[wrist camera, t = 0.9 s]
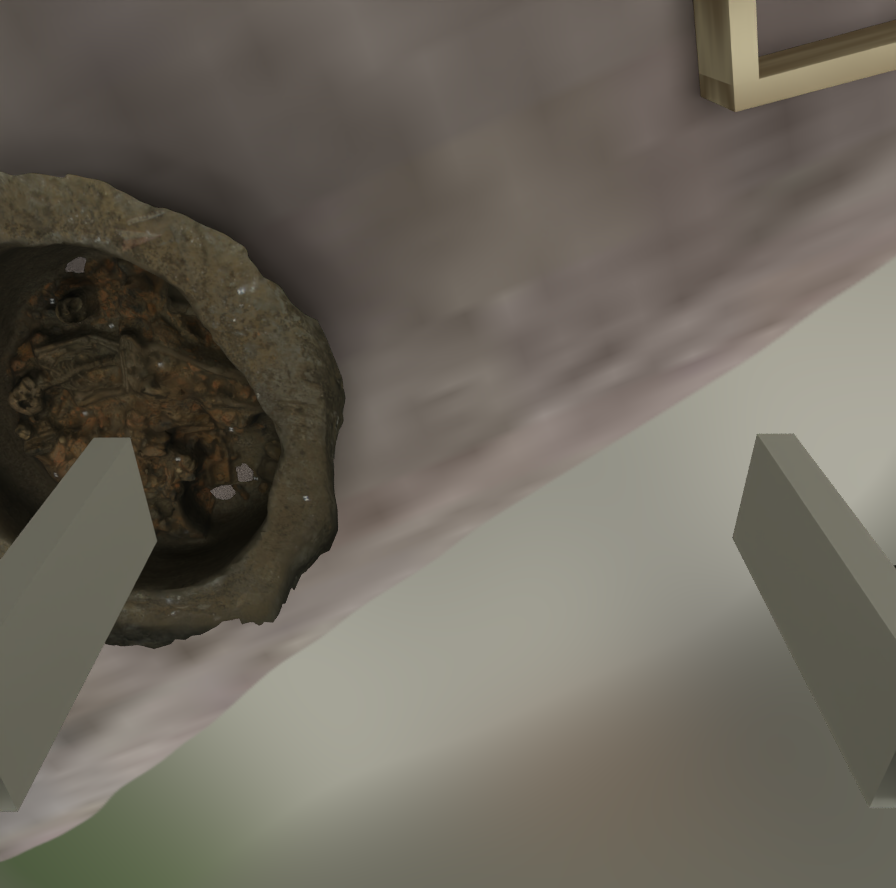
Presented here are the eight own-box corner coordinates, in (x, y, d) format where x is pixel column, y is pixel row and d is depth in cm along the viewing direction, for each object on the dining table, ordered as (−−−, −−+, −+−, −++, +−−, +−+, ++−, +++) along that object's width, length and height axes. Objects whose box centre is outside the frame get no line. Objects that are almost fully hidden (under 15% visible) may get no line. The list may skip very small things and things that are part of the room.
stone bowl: (383, 554, 49) (357, 665, 41) (10, 531, 51) (-84, 634, 43) (366, 150, 36) (323, 201, 28) (-136, 136, 38) (-308, 180, 30)
